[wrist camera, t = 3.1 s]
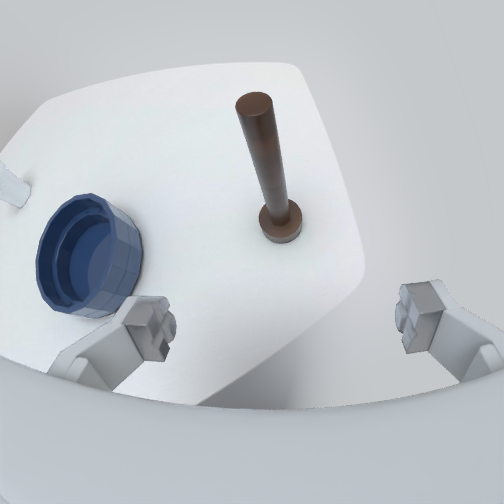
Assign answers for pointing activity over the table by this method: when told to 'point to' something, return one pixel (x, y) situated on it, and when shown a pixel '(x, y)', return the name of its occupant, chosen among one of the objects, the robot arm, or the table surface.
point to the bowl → (88, 257)
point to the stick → (268, 167)
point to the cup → (13, 188)
